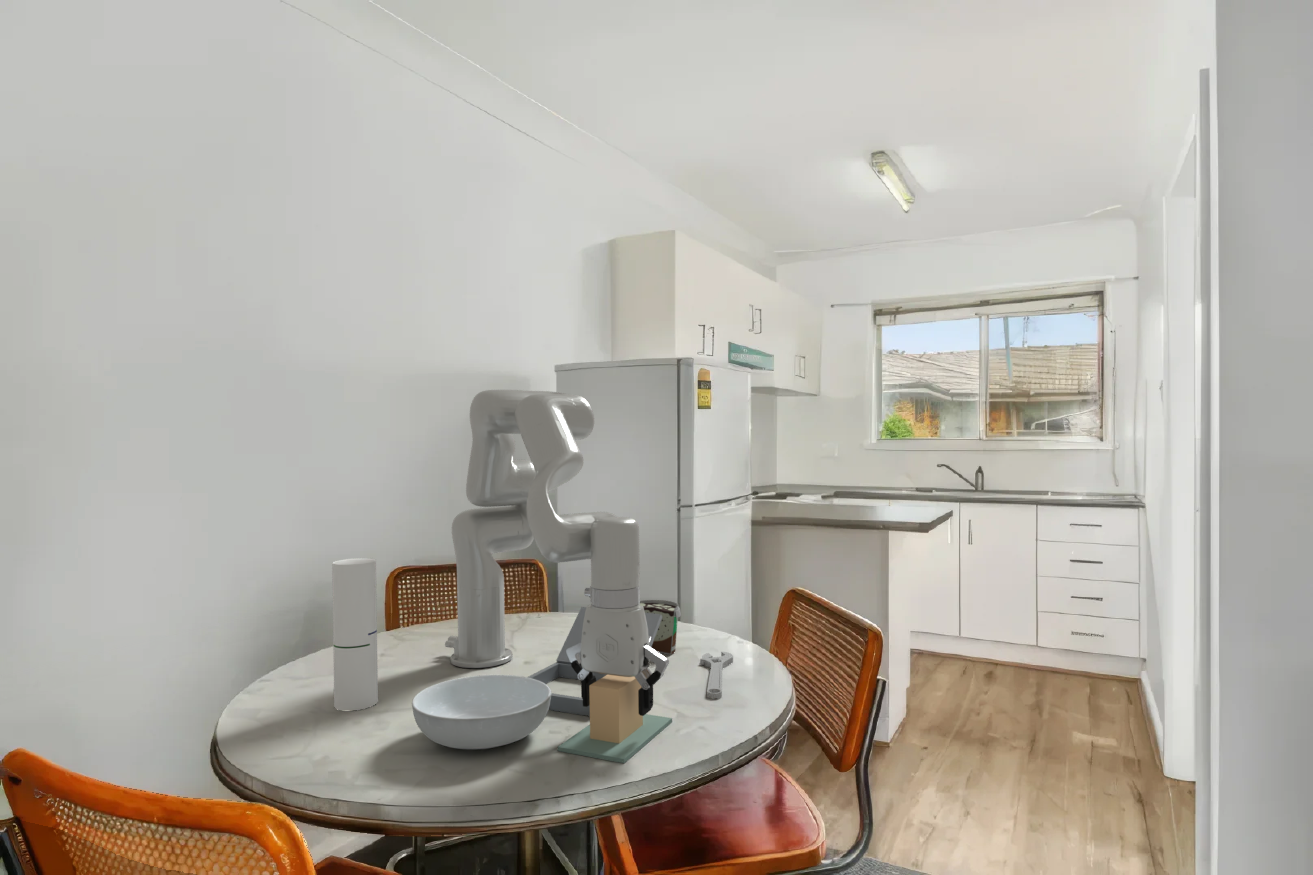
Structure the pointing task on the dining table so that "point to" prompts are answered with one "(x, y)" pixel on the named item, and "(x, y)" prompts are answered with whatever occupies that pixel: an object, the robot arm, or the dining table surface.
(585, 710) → the equipment case
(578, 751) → the rubber mat
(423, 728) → the serving bowl
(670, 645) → the food container
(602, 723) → the block
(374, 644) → the cylindrical container
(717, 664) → the adjustable wrench
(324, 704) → the dining table surface
